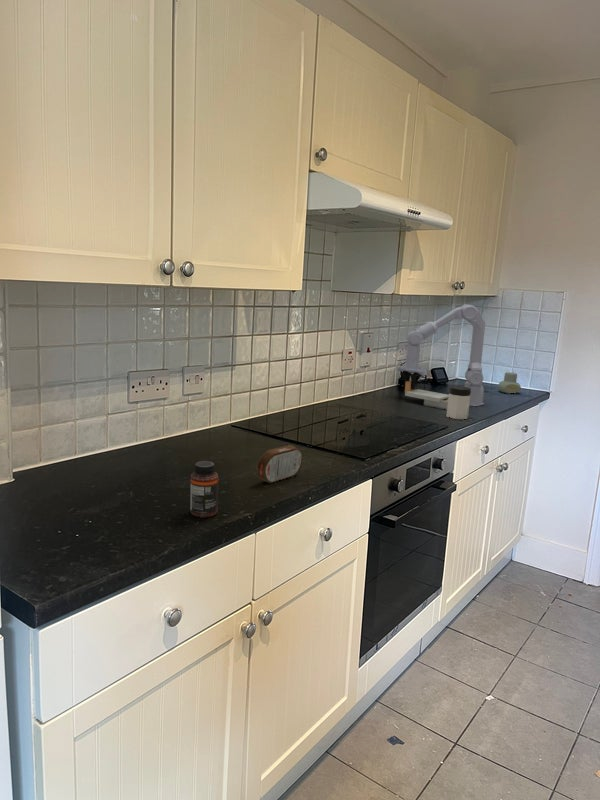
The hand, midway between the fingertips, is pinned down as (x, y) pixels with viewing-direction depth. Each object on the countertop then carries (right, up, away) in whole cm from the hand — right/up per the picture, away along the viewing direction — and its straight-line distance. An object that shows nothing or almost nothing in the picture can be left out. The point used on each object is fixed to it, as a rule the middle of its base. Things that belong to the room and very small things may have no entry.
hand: (409, 388), depth 270 cm
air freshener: (+56, -2, +34) cm, 66 cm away
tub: (+14, -8, -11) cm, 19 cm away
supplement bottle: (-70, -30, -138) cm, 158 cm away
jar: (+14, -12, -29) cm, 34 cm away
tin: (-54, -26, -114) cm, 128 cm away
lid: (+6, -4, -5) cm, 9 cm away
